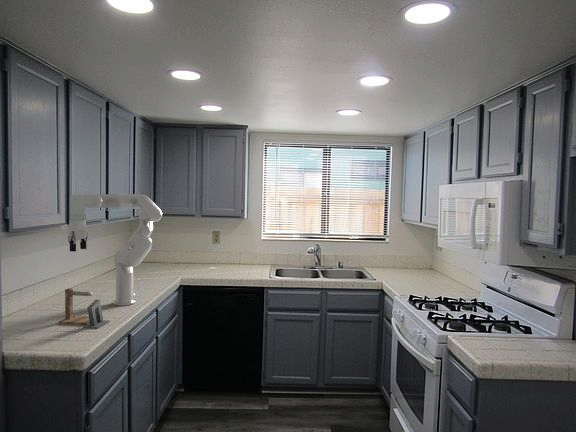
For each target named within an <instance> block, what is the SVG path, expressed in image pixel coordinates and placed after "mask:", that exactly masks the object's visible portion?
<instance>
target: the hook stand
mask: <svg viewBox="0 0 576 432" xmlns="http://www.w3.org/2000/svg"><path fill="white" fill-rule="evenodd" d="M73 296H81V297H92V296H93V292H92V291H78V290H77V291H74V288H66V289H65V290H64V297H65V298H64V302H65V303H64V309H65V310H64V314H65V315H64V317H65V318H63V319H61V320H59V321H58V325H73V326H74V325H75V326H76V325H77V326H85V325H87V324H88V323H90V321H89V315H88V316H87V315H86V316H85V315H74V313H73V312H74V311H73V310H74V309H73V307H74V305H73V303H74V299H73Z"/></svg>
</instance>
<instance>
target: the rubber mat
mask: <svg viewBox="0 0 576 432" xmlns="http://www.w3.org/2000/svg"><path fill="white" fill-rule="evenodd" d="M108 323H110V320H107V319H106V320H105V319H103V321H102V322H97V324H96V325H95V326H90V323H88V324H87V325H82V329H100V328H102V327H103V326H105V325H107V324H108Z"/></svg>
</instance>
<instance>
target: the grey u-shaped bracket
mask: <svg viewBox="0 0 576 432" xmlns="http://www.w3.org/2000/svg"><path fill="white" fill-rule="evenodd" d="M86 308H87V314H88V316H89V321H90V326H95V325H96V324H97V322H102V321H103V320H104V318H103V310H102V305H101V299H94V301H92V302H91V303H90V304H89V305H88V306H87V307H86Z"/></svg>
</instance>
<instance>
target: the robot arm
mask: <svg viewBox="0 0 576 432" xmlns="http://www.w3.org/2000/svg"><path fill="white" fill-rule="evenodd" d="M71 195H72V196H71ZM71 195H70V196H71V221H70V220H69V224H68V235H67V236H66V237H67V239H68V243H69V252H77V244H76V243H77V241H78V240H80V241H79V246H80V247H79V249H80V250H86V249H87V241H88V236H89V233H88V231H87V223H86V220H87V209H103V208H104V209H113V210H115V209H116V210H119V209H120V210H121V209H122V210H123V209H124V210H128V209H129V210H130V209H131V210H133V209H138V210H139V212H138V218H139V225H138V227H137V229H136V230H135V231H134V233H133V234H131V236H130V237H129V239H128V241H127V244H126V245H127V248H129V249H127V248H122V249H121V248H120V249H118V250H117V251H115V253H114V257H113V258H114V260H113V261H114V266H115V300H113V301H112V304H113V305H114V306H122V307H123V306H131V305H134V304H136V303H137V299H134V297H136V293H135V292H134V269H133V268H135V267H138V266H139V265H140V264H141V263H142V262H143V261H144V259H145V258H146V256H147V255H148V253H149V252H150V251H151V250H152V246H153V241H152V238H151V235H152V233H153V231H154V224H153V223H155V222H156V223H157V222H160V220H161V219H162V218H163V212H162V210H161V209H160V207H159V206H158V205H157V204H156V203H155V202H154V201H153V200H152V199H151V198H150V197H149V196H148V195H145V194H138V193H136V194H135V193H133V194H132V193H108V194H105V193H104V194H96V193H95V194H94V193H93V194H92V193H91V194H90V193H88V194H87V193H86V194H71Z"/></svg>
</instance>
